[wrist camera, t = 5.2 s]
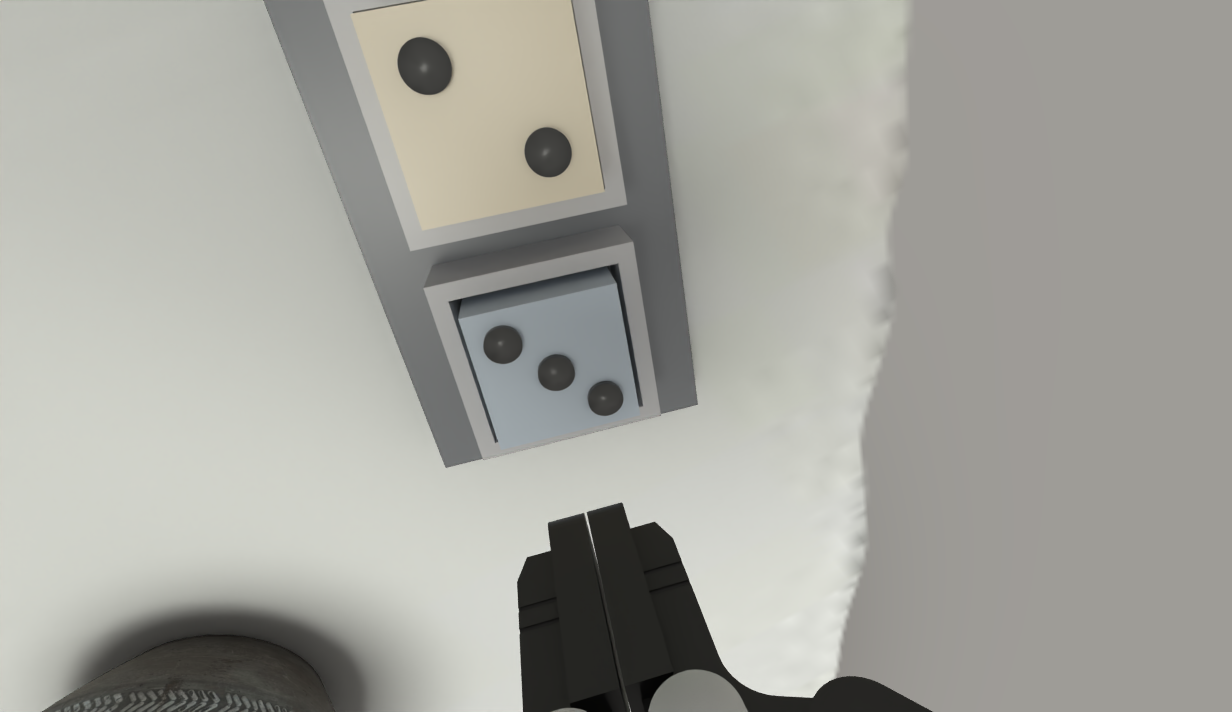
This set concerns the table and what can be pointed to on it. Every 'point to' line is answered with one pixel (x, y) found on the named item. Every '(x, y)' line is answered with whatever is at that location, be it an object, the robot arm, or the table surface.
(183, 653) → the planter
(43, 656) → the table surface
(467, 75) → the button two
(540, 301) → the button three
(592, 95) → the keypad
